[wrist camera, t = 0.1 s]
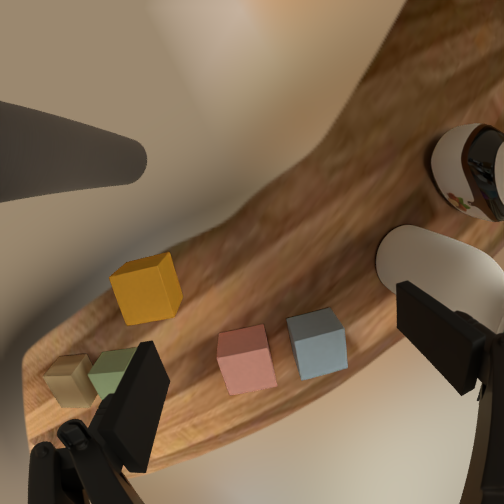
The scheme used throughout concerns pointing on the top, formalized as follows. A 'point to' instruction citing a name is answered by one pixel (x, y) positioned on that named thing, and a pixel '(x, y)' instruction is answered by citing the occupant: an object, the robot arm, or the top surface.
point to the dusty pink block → (245, 360)
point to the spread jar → (471, 170)
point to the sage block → (110, 370)
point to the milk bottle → (444, 272)
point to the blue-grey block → (317, 343)
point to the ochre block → (147, 289)
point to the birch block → (71, 381)
